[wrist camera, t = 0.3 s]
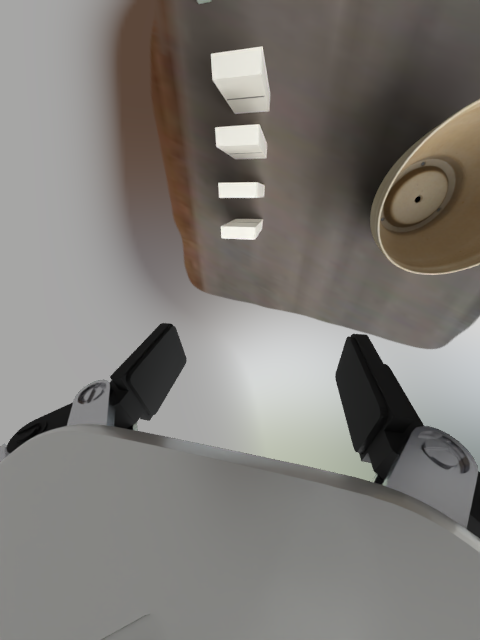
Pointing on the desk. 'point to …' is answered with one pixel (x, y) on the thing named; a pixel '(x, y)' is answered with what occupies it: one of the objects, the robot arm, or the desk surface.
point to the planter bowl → (433, 200)
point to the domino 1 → (203, 1)
